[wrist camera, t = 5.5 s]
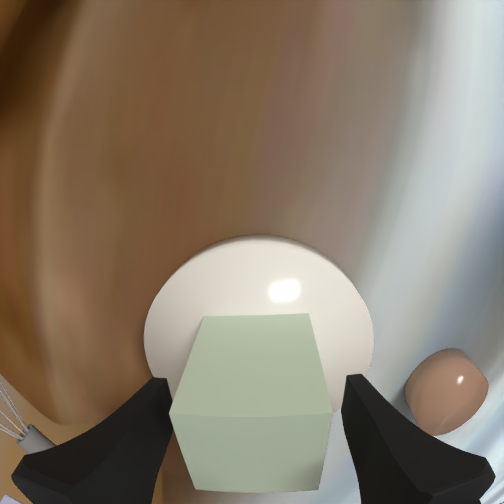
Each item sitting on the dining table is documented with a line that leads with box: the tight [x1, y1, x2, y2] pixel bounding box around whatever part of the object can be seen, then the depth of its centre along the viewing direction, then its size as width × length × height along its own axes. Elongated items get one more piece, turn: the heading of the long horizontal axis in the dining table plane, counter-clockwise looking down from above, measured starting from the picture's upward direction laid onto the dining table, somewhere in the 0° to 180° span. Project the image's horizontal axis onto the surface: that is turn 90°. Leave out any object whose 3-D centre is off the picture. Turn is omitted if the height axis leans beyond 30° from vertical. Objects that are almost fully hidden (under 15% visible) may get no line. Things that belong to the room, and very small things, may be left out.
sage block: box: [169, 313, 333, 493], centre depth 11 cm, size 4×4×6 cm
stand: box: [144, 234, 374, 413], centre depth 15 cm, size 11×11×2 cm
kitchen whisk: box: [0, 381, 56, 454], centre depth 17 cm, size 6×34×6 cm, turn 34°
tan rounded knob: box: [404, 348, 488, 436], centre depth 15 cm, size 5×5×3 cm
